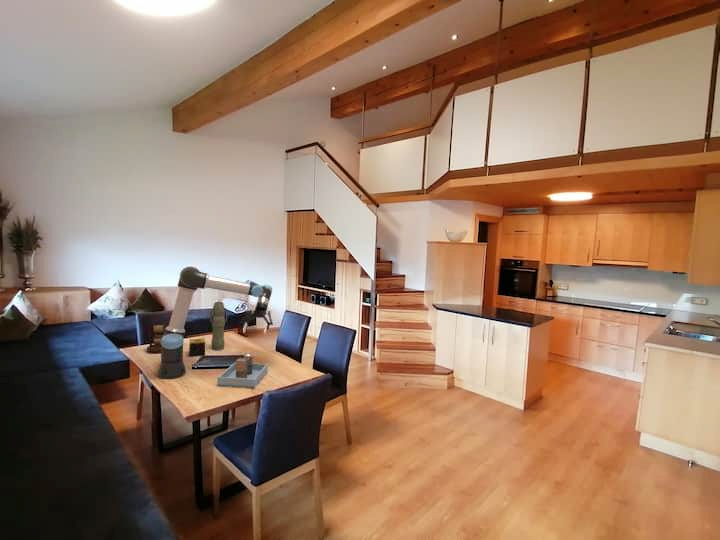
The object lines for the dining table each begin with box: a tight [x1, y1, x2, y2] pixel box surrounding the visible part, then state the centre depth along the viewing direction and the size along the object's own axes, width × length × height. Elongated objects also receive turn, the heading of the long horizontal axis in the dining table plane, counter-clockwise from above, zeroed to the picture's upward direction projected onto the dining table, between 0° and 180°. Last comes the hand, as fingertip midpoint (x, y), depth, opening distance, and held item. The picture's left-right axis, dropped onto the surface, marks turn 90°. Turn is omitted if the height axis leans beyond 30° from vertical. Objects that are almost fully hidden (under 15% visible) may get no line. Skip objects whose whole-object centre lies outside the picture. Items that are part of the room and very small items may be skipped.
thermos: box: [209, 301, 228, 351], centre depth 272 cm, size 9×12×35 cm
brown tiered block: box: [145, 322, 169, 354], centre depth 261 cm, size 15×15×20 cm
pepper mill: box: [242, 352, 253, 375], centre depth 225 cm, size 6×6×12 cm
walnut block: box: [235, 357, 248, 379], centre depth 215 cm, size 5×5×12 cm
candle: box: [188, 338, 206, 358], centre depth 258 cm, size 10×10×10 cm
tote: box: [216, 361, 269, 389], centre depth 219 cm, size 26×21×5 cm
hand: (254, 332), depth 234 cm, fingers open, 13 cm apart
